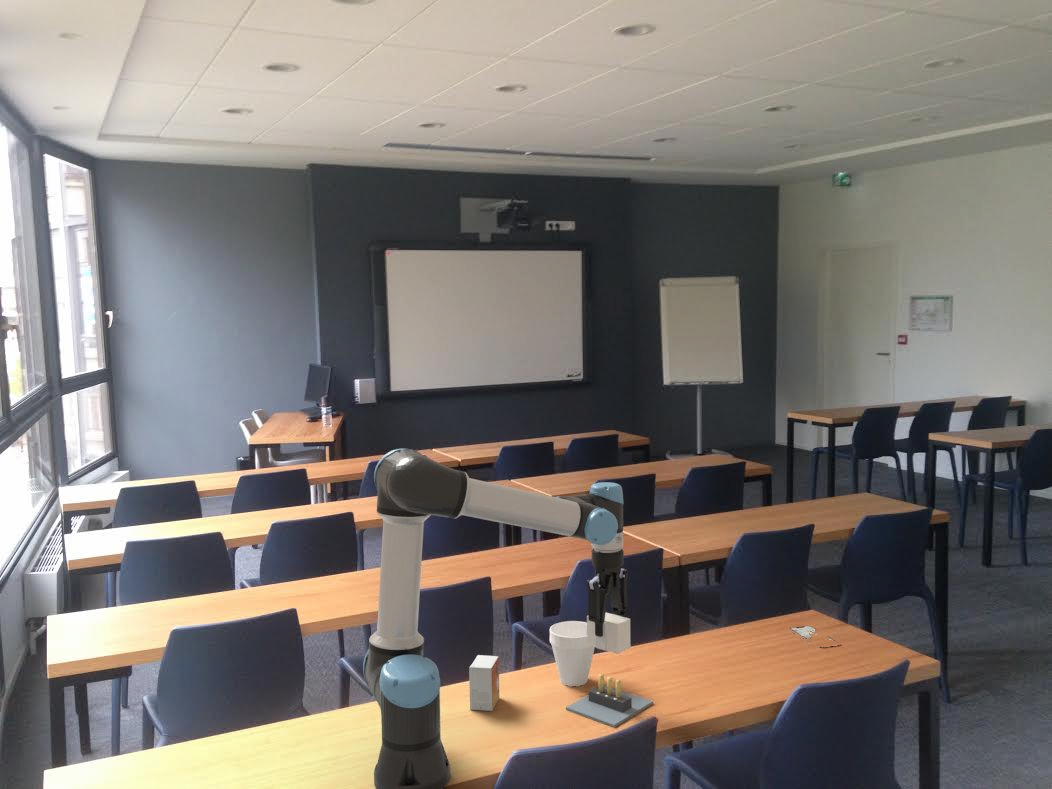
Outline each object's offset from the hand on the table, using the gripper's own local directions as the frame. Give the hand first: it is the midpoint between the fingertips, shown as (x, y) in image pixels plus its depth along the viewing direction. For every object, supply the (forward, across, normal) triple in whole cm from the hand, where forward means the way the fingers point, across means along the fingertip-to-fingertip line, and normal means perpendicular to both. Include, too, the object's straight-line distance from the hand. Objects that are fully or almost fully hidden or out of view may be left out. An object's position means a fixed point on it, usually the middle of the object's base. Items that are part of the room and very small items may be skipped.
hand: (608, 645), depth 197 cm
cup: (+15, +6, +16) cm, 23 cm away
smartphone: (+16, +74, -19) cm, 79 cm away
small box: (+15, -18, +24) cm, 34 cm away
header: (+15, 0, 0) cm, 15 cm away
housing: (0, 0, 0) cm, 0 cm away
